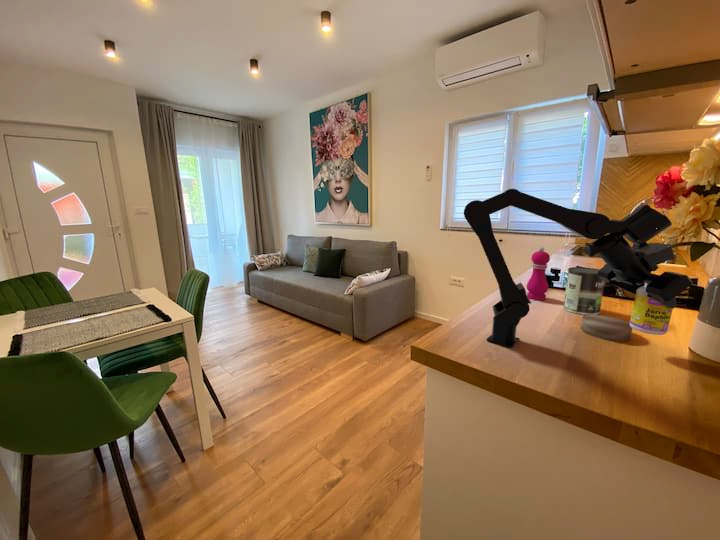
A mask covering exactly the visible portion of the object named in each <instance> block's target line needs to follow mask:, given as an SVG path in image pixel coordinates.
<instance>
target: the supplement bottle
mask: <svg viewBox="0 0 720 540" xmlns="http://www.w3.org/2000/svg"><path fill="white" fill-rule="evenodd" d="M647 285H648V284H647V283H644V285H643V287H640V288H638V289H637V291H636V295H635V297H634V301H633V306H632V311H631V314H630V321H629V323H630V326H631V327H632V330H635V331H637V332H640V333H643V334H648V335H655V336H662V335H665V334H667V333H668V329H669V327H670V323H671V318H672V313H673V310H674V308H673V309H672V308H669V307H667V306H665V305H663V304H661V303H659V302H657V301H655V300H653V299H651V298H649V297H647V295H648V293H647V292H646V286H647ZM675 298H676V299H677V296H676V297H675Z"/></svg>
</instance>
